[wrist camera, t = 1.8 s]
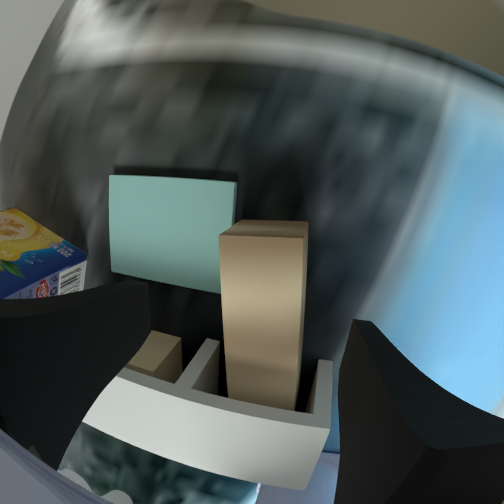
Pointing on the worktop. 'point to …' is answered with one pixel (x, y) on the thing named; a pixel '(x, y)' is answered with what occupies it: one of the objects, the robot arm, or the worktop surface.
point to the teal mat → (169, 228)
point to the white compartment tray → (212, 417)
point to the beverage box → (36, 259)
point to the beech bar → (264, 309)
